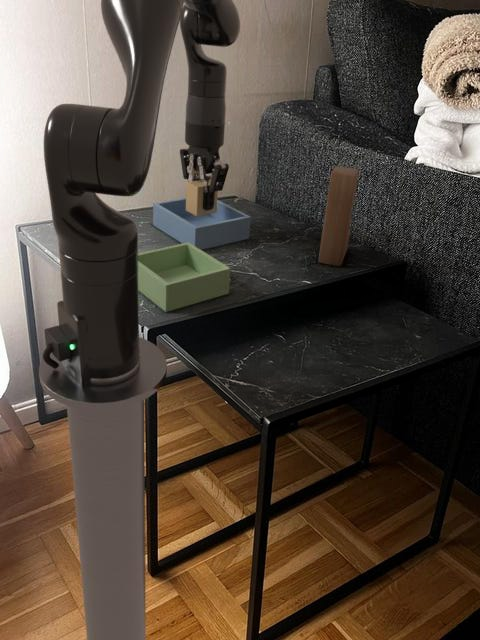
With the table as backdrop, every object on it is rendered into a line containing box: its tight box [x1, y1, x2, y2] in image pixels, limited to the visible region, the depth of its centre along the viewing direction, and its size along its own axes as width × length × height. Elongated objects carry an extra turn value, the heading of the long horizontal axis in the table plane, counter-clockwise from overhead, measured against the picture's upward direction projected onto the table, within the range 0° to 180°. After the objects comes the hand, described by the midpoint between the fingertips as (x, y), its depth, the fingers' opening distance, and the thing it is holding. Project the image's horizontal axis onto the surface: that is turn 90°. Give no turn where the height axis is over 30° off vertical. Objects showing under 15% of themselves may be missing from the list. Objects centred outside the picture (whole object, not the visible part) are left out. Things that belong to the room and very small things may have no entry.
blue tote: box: [152, 197, 252, 251], centre depth 126 cm, size 14×16×5 cm
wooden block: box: [318, 165, 360, 267], centre depth 117 cm, size 9×4×18 cm, turn 163°
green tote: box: [138, 242, 231, 313], centre depth 104 cm, size 13×13×5 cm
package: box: [185, 180, 219, 216], centre depth 124 cm, size 5×4×6 cm
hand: (201, 205), depth 124 cm, fingers closed on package, 4 cm apart
